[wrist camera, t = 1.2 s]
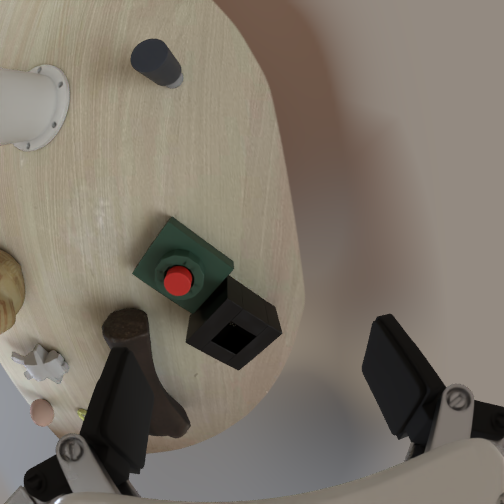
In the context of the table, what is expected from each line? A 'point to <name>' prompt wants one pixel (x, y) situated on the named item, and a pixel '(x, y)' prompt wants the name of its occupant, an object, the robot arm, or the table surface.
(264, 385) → the table surface
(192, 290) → the station
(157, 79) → the soldering iron
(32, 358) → the white branched piece
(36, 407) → the egg
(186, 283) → the power button
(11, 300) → the ceramic vessel
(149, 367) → the dark brown bone
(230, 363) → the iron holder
